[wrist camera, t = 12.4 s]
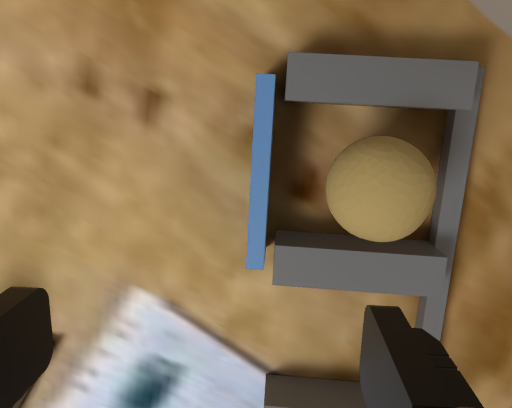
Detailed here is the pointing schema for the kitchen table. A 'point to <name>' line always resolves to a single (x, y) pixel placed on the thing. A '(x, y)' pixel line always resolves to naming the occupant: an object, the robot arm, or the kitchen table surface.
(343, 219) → the light bulb
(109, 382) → the kitchen table surface
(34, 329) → the robot arm
